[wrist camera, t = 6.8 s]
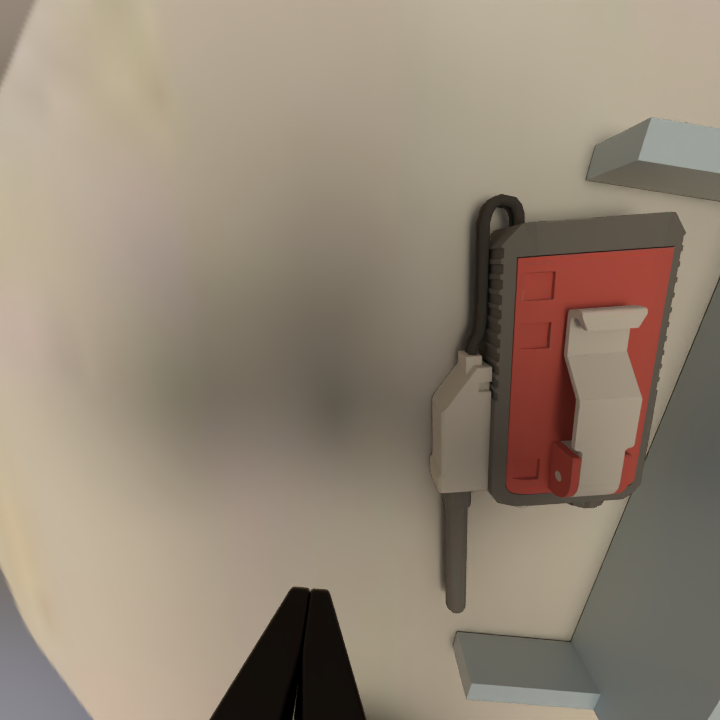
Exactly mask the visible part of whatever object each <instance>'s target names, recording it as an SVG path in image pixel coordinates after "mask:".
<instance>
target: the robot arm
mask: <svg viewBox="0 0 720 720" xmlns="http://www.w3.org/2000/svg"><path fill="white" fill-rule="evenodd" d="M296 694H297V695H296ZM295 701H296V703H295ZM294 708H295V712H294ZM293 714H294V720H366V716H365V713H364V709H363V706H362V702H361V699H360V695H359V692H358V688H357V685H356V682H355V678H354V675H353V671H352V668H351V664H350V661H349V657H348V654H347V650H346V647H345V643H344V640H343V636H342V633H341V630H340V626H339V623H338V619H337V616H336V612H335V609H334V605H333V602H332V598H331V595H330V592H329V591H328V590H326V589H315V588H314V589H312V590H311V591H310V590H309V589H308V588H304V587H292V588H291V589H290V590H289V592H288V594H287V595H286V597H285V598H284V600H283V602H282V603H281V605H280V607H279V608H278V610H277V611H276V613H275V615H274V616H273V618H272V619H271V621H270V623H269V624H268V626H267V628H266V629H265V631H264V632H263V634H262V636H261V637H260V639H259V640H258V642H257V644H256V645H255V647H254V649H253V650H252V652H251V653H250V655H249V657H248V658H247V660H246V661H245V663H244V665H243V666H242V668H241V670H240V671H239V673H238V674H237V676H236V678H235V679H234V681H233V682H232V684H231V686H230V687H229V689H228V691H227V692H226V694H225V695H224V697H223V699H222V700H221V702H220V703H219V705H218V707H217V708H216V710H215V712H214V713H213V715H212V716H211V718H210V720H293Z"/></svg>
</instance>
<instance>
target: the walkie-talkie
mask: <svg viewBox="0 0 720 720" xmlns="http://www.w3.org/2000/svg"><path fill="white" fill-rule="evenodd" d="M497 207H499V208H504V209H505V210H506V211H507V213H508V217H509V227H508V228H504V229H500V230H496V231H493V233H492V234H491V235H490V221H491V217H492V214H493V212H494V210H495V209H496V208H497ZM685 234H686V232H685V230H684V228H683V226H682V224H681V222H680V220H679V218H678V216H677V213H676V212H664V213H650V214H636V215H622V216H609V217H595V218H581V219H567V220H553V221H540V222H530V223H525V216H524V210H523V207H522V204H521V203H520V201H519V200H518V199H517V198H516V197H513V196H508V195H504V194H500V195H498V196H495V197H493V198H491V199H489V200H488V201H487V202H486V203H485V204H484V205H483V206H482V207H481V209H480V212H479V216H478V219H477V223H476V242H475V288H474V321H473V327H472V331H471V333H470V335H469V337H468V339H467V340H466V345H465V350H459V351H458V362H457V364H456V365H455V366H454V368H453V369H452V370H451V372H450V373H449V374H448V376H447V377H446V378H445V380H444V381H443V382H442V384H441V385H440V386H439V388H438V389H437V390H436V392H435V393H434V395H433V397H432V439H433V453H432V455H431V456H430V472H431V475H432V477H433V480H434V483H435V485H436V488H437V491H438V492H440V493H442V501H443V503H444V505H445V543H446V605H447V607H448V609H449V610H451V611H452V612H453V613H460V612H462V611H463V610H464V609H465V606H466V558H467V510H468V507H469V506H470V503H471V491H483V490H488V491H489V492H490V494H491V495H492V497H493V498H494V499H495V500H496V501H497V502H498V503H501V504H506V505H511V506H516V507H519V508H526V507H528V506H531V505H546V504H560V503H568V504H570V505H573V506H577V507H581V508H595V507H597V506H599V505H601V504H602V503H603V501H604V500H618V499H623V498H625V497H627V496H629V495H630V494H632V493H633V492H634V491H635V490H636V489H637V488H638V487H639V486H640V485H641V479H642V473H643V468H644V462H645V457H646V451H647V446H648V440H649V434H650V429H651V423H652V418H653V412H654V406H655V401H656V395H657V390H656V387H657V382H658V381H659V378H660V377H658V376H659V370H660V369H661V367H662V364H661V359H662V355H663V354H664V350H663V348H664V342H665V341H666V339H667V336H666V331H667V327H669V322H668V320H669V314H670V313H671V311H672V307H671V303H672V298H673V297H674V294H675V293H674V286H675V283H676V282H677V277H676V275H677V270H678V267H679V266H680V261H679V258H680V253H681V251H682V250H683V245H682V242H683V236H684V235H685ZM489 235H490V236H489Z"/></svg>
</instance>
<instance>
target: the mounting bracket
mask: <svg viewBox="0 0 720 720" xmlns="http://www.w3.org/2000/svg"><path fill="white" fill-rule="evenodd" d="M586 180H589V181H595V182H602V183H608V184H614V185H620V186H627V187H633V188H639V189H646V190H652V191H658V192H665V193H671V194H677V195H684V196H690V197H696V198H702V199H709V200H715V201H720V129H719V128H713V127H707V126H701V125H695V124H689V123H683V122H678V121H672V120H666V119H660V118H654V117H651V118H649V119H647V120H645V121H643V122H641V123H639V124H637V125H635V126H633V127H631V128H629V129H627V130H625V131H623V132H622V133H620V134H618V135H616V136H614V137H612V138H610V139H608V140H606V141H604V142H602V143H600V144H598V145H596V146H595V150H594V153H593V157H592V160H591V164H590V167H589V171H588V174H587V178H586ZM453 649H454V653H455V657H456V661H457V665H458V669H459V673H460V677H461V680H462V684H463V688H464V692H465V696H466V700H478V701H490V702H503V703H515V704H528V705H540V706H552V707H565V708H577V709H590V710H594V712H595V714H596V715H597V717H598V719H599V720H720V280H719V282H718V285H717V287H716V290H715V292H714V295H713V297H712V300H711V302H710V304H709V307H708V309H707V312H706V314H705V317H704V319H703V321H702V324H701V326H700V329H699V331H698V334H697V336H696V338H695V341H694V343H693V346H692V348H691V351H690V353H689V356H688V358H687V360H686V363H685V365H684V368H683V370H682V373H681V375H680V377H679V380H678V382H677V385H676V387H675V390H674V392H673V394H672V397H671V399H670V402H669V404H668V407H667V409H666V411H665V414H664V416H663V419H662V421H661V424H660V426H659V429H658V431H657V433H656V436H655V438H654V441H653V443H652V446H651V448H650V450H649V453H648V455H647V458H646V460H645V463H644V468H643V473H642V479H641V485H640V486H639V487H638V488H637V489H636V490H635V491H634V492H633V493H632V494H631V497H630V499H629V502H628V504H627V506H626V509H625V511H624V514H623V516H622V519H621V521H620V523H619V526H618V528H617V531H616V533H615V536H614V538H613V540H612V543H611V545H610V548H609V550H608V553H607V555H606V558H605V560H604V562H603V565H602V567H601V570H600V572H599V575H598V577H597V579H596V582H595V584H594V587H593V589H592V592H591V594H590V596H589V599H588V601H587V604H586V606H585V609H584V611H583V614H582V616H581V618H580V621H579V623H578V626H577V628H576V631H575V633H574V635H573V638H572V640H571V642H565V641H554V640H543V639H532V638H521V637H510V636H499V635H488V634H477V633H465V632H457V634H456V637H455V641H454V644H453Z"/></svg>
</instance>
